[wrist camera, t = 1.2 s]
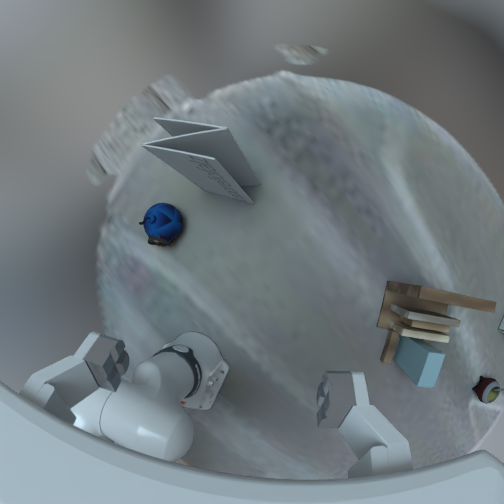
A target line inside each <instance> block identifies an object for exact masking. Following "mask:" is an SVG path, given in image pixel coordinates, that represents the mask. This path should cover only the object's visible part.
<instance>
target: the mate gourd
mask: <svg viewBox="0 0 504 504" xmlns="http://www.w3.org/2000/svg"><path fill="white" fill-rule="evenodd" d="M472 390H475V392H476V394H477V396H478V398H479V400H480V401H481V402H483V403H485V404H487V403H491V402H493V401H494V400H495V399H496V398H497V397H498V395H499V392H500V391H504V389H500V385H499V383H498V382H497V381H496V380H495V379H493V378H484V377H483V376H480V383H479V385H477V386H475V387H473V388H472Z"/></svg>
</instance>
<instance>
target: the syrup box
mask: <svg viewBox="0 0 504 504" xmlns="http://www.w3.org/2000/svg"><path fill="white" fill-rule="evenodd" d="M498 331H500V332H501V333H503V334H504V317H503V319H502V322H501V324H500V326H499V329H498Z"/></svg>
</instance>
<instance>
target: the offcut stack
mask: <svg viewBox="0 0 504 504" xmlns="http://www.w3.org/2000/svg"><path fill="white" fill-rule="evenodd" d="M390 310H392V311H394V312H396V313H398V314H400V317H399V320H401V321H403V322H399V321H393V320H389V323H388V326H389V327H391V328H392V329H393V330H395V331H396V332H397V333H399V334H400V335H401V336H407V337H413V338H420V339H426V340H433V341H440V342H447V343H448V341H449V338H450V336H448V335H446V334H444V333H442V332H449V328H450V326H454V327H459V325H460V320H457V319H454V318H451V317H448V316H445V315H443V314H440V313H437V312H432V311H426V310H421V309H416V308H411V307H405V306H400V305H395V304H391V307H390ZM440 331H442V332H440Z"/></svg>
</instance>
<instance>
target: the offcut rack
mask: <svg viewBox="0 0 504 504" xmlns="http://www.w3.org/2000/svg"><path fill="white" fill-rule="evenodd" d="M391 304H395V305H400V306H405V307H411V308H416V309H421V310H426V311H432V312H437V313H440V314H443V315H445V314H446V310H447V306H448V304H451V305H456V306H461V307H466V308H471V309H476V310H481V311H487V312H492V313H494V311H495V306H496V302H493V301H488V300H484V299H479V298H474V297H470V296H465V295H461V294H456V293H451V292H447V291H442V290H437V289H433V288H428V287H423V286H417V285H411V284H404V283H397V282H390V281H387V285H386V289H385V294H384V298H383V303H382V307H381V311H380V315H379V319H378V323H377V327H380V328H386V329H389V332H388V336H387V339H386V343H385V346H384V349H383V352H382V356H381V359H380V360H381V361H382V362H383V363H385V364H391V361H392V358H393V355H394V352H395V349H396V345H397V342H398V339H399V335H400V334H399V333H397V332H396V331H395V330H393V329H392V328H391V327H389V326H388V323H389V320H393V321H399V322H403V321H401V320H399V317H400V314H398V313H396V312H394V311H392V310H390V307H391ZM440 332H441V331H440ZM422 340H424V341H425V342H427V343H428V344H430V341H431V340H426V339H422Z"/></svg>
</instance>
